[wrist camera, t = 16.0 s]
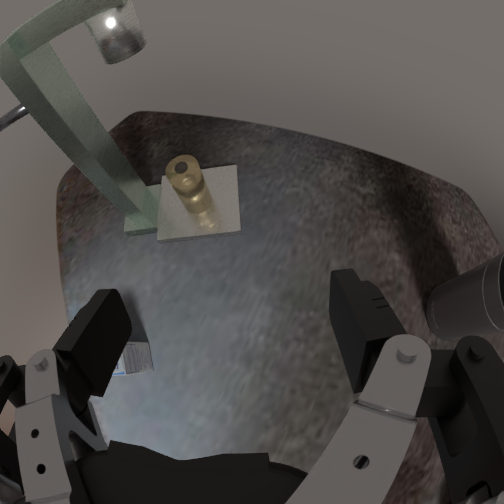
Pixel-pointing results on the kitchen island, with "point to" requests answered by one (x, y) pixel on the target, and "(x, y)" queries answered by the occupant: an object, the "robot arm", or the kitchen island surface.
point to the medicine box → (134, 359)
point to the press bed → (92, 131)
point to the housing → (189, 183)
